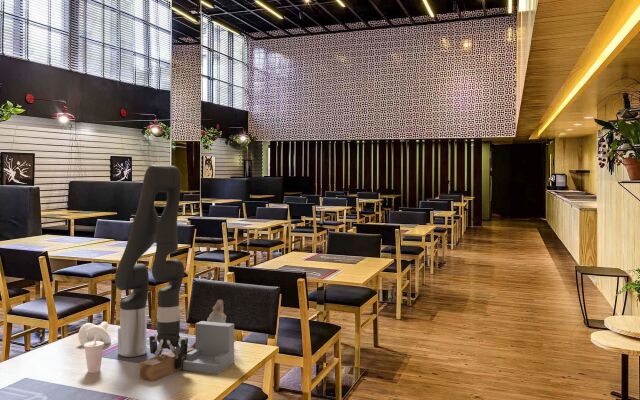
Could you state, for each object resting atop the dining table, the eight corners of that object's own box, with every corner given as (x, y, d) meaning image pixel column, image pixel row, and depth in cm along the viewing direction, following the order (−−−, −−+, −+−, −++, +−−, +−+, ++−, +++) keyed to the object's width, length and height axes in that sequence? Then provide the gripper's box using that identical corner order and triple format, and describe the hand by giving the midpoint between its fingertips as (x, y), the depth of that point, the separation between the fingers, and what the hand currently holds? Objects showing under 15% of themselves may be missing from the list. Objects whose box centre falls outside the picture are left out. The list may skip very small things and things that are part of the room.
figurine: (217, 348, 199) (221, 304, 193) (197, 342, 200) (201, 298, 194) (226, 336, 207) (231, 294, 201) (208, 331, 209) (212, 288, 203)
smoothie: (108, 370, 172) (108, 329, 172) (94, 376, 166) (94, 334, 166) (93, 368, 174) (93, 327, 174) (79, 374, 168) (79, 332, 168)
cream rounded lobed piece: (119, 344, 202) (119, 321, 202) (95, 352, 192) (95, 329, 191) (99, 340, 207) (99, 318, 207) (74, 348, 196) (74, 325, 196)
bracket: (183, 370, 172) (182, 329, 172) (201, 359, 184) (201, 320, 184) (217, 374, 168) (217, 332, 168) (234, 362, 180) (234, 323, 180)
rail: (139, 379, 164) (139, 362, 164) (182, 361, 182) (182, 346, 182) (152, 382, 162) (152, 365, 162) (194, 364, 179) (194, 348, 179)
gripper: (143, 319, 170) (143, 368, 170) (180, 322, 166) (180, 373, 166) (157, 314, 177) (157, 361, 178) (192, 317, 173) (193, 366, 173)
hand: (168, 367), depth 172 cm, fingers open, 6 cm apart
